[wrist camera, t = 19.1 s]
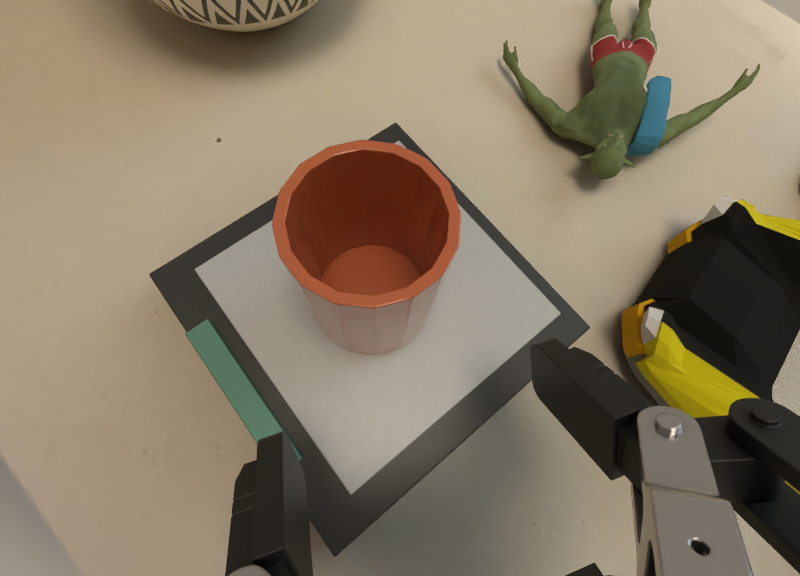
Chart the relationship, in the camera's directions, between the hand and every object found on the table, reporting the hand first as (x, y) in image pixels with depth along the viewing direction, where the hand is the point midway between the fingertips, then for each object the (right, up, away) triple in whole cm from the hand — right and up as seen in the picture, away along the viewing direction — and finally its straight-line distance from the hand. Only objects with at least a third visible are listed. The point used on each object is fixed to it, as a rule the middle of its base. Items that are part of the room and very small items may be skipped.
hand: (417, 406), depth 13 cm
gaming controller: (+18, +1, +11) cm, 21 cm away
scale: (-2, +2, +10) cm, 11 cm away
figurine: (+14, +18, +17) cm, 28 cm away
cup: (-2, +3, +8) cm, 8 cm away
